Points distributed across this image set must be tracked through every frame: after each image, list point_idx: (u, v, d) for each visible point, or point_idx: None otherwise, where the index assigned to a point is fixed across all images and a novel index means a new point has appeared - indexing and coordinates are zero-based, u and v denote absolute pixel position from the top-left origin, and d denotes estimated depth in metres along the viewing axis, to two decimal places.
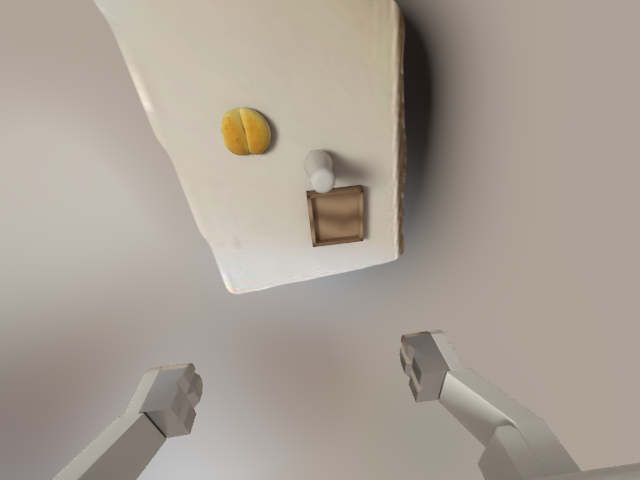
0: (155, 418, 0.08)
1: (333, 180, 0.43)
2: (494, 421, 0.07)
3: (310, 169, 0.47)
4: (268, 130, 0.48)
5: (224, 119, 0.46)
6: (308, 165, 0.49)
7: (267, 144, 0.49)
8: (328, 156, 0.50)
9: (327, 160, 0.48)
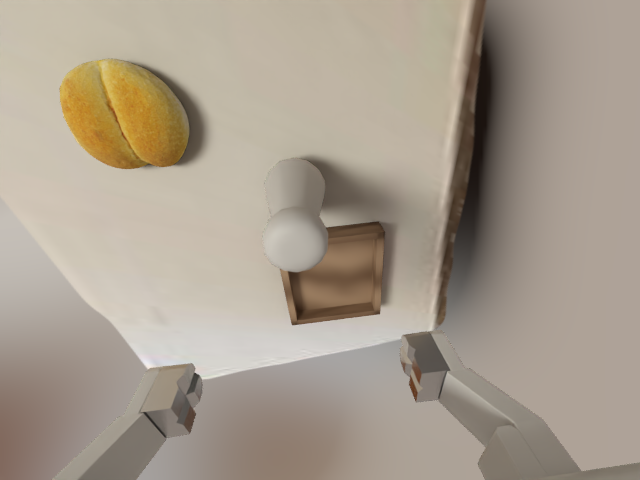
0: (155, 418, 0.08)
1: (323, 244, 0.16)
2: (494, 420, 0.07)
3: (271, 205, 0.20)
4: (176, 114, 0.21)
5: (61, 86, 0.19)
6: (269, 193, 0.22)
7: (179, 145, 0.23)
8: (315, 172, 0.23)
9: (311, 183, 0.21)
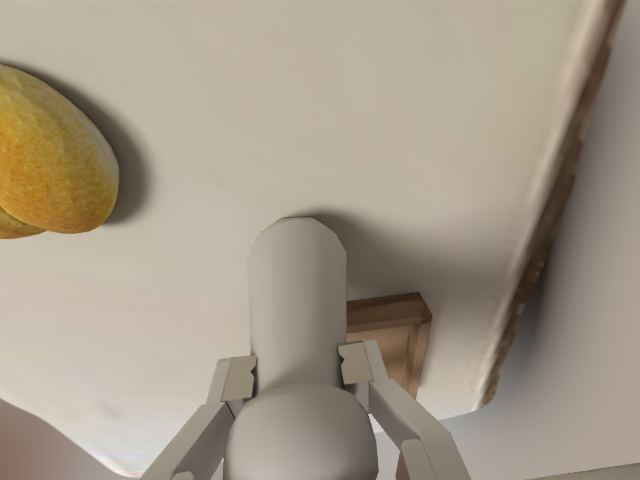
0: (234, 407, 0.08)
1: None
2: (408, 433, 0.07)
3: (254, 329, 0.11)
4: (83, 152, 0.12)
5: None
6: (252, 291, 0.12)
7: (98, 202, 0.13)
8: (332, 244, 0.14)
9: (328, 274, 0.12)
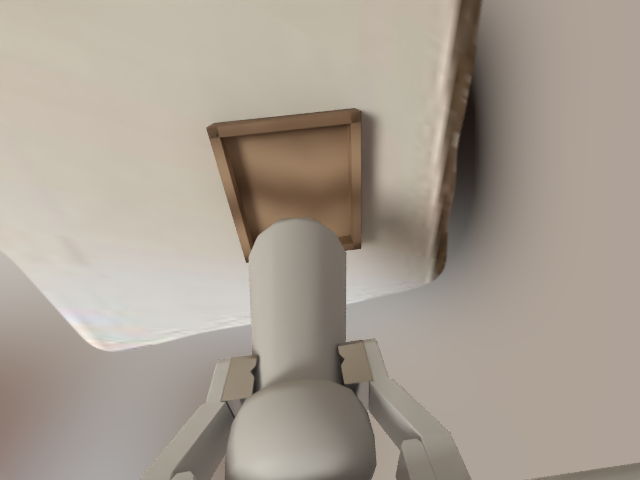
0: (234, 407, 0.08)
1: None
2: (408, 433, 0.07)
3: (255, 326, 0.11)
4: None
5: None
6: (253, 289, 0.12)
7: None
8: (332, 244, 0.14)
9: (329, 274, 0.12)
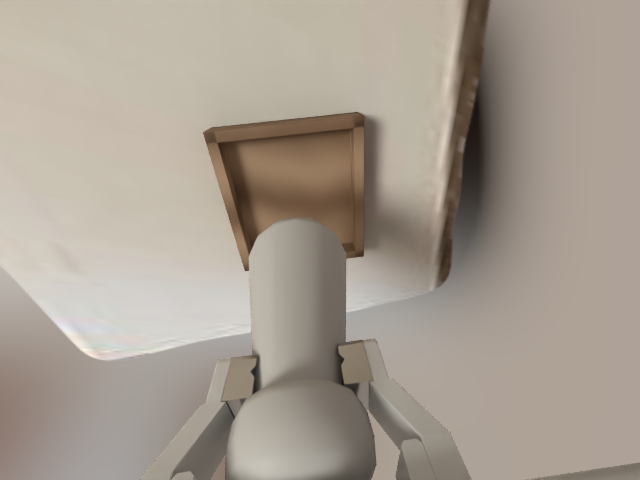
0: (234, 407, 0.08)
1: None
2: (408, 433, 0.07)
3: (255, 326, 0.11)
4: None
5: None
6: (253, 289, 0.12)
7: None
8: (332, 245, 0.14)
9: (329, 274, 0.12)
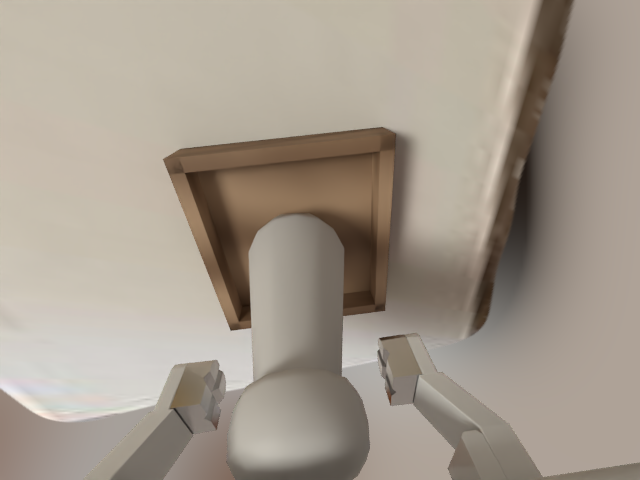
0: (184, 414, 0.08)
1: (360, 464, 0.07)
2: (463, 425, 0.07)
3: (255, 319, 0.11)
4: None
5: None
6: (253, 283, 0.13)
7: None
8: (330, 240, 0.14)
9: (326, 268, 0.12)
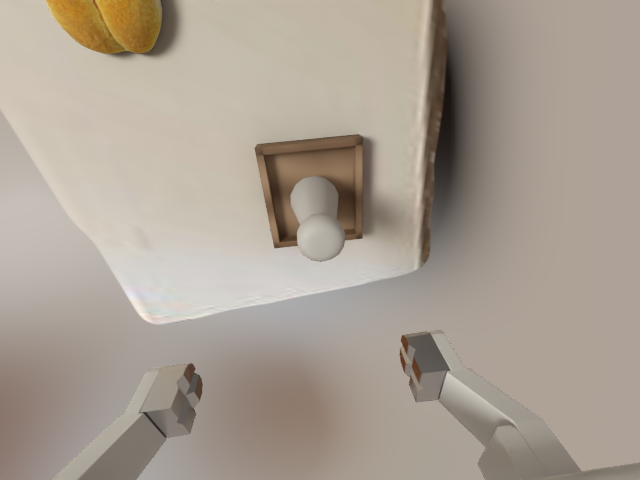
0: (155, 418, 0.08)
1: (341, 240, 0.23)
2: (494, 420, 0.07)
3: (299, 212, 0.26)
4: None
5: None
6: (296, 203, 0.28)
7: (151, 24, 0.23)
8: (331, 187, 0.30)
9: (330, 195, 0.28)
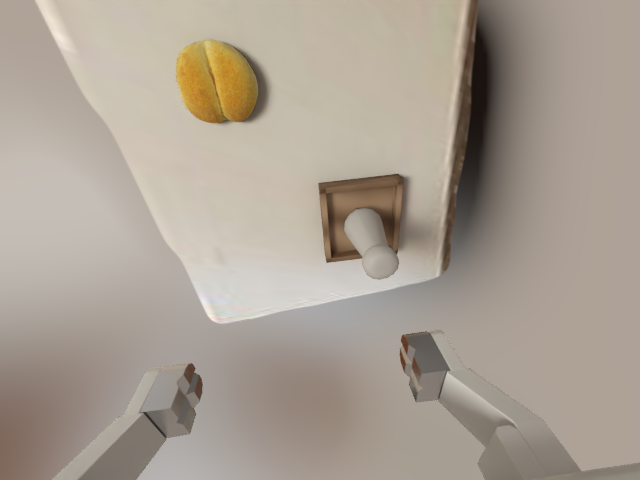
0: (155, 418, 0.08)
1: (397, 265, 0.31)
2: (494, 421, 0.07)
3: (359, 240, 0.35)
4: (253, 79, 0.30)
5: (179, 58, 0.28)
6: (353, 232, 0.36)
7: (252, 103, 0.31)
8: (378, 217, 0.38)
9: (379, 226, 0.36)
